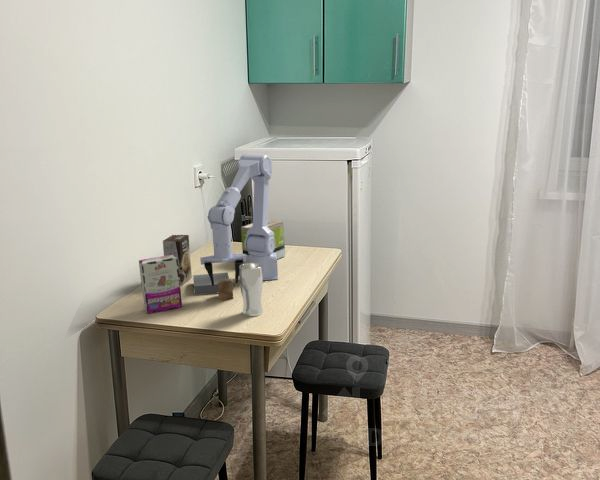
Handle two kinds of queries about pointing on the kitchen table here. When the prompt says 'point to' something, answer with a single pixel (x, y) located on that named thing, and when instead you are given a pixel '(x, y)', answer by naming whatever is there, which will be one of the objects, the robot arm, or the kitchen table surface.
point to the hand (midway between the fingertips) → (224, 283)
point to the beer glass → (251, 288)
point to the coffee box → (179, 254)
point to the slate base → (207, 283)
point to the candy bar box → (160, 283)
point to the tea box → (272, 225)
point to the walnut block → (225, 289)
